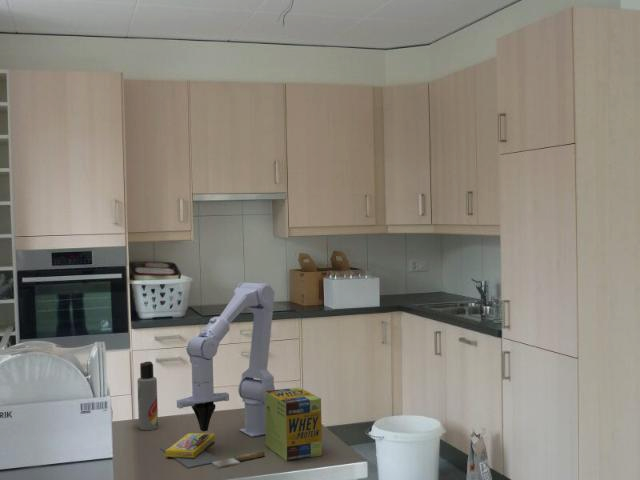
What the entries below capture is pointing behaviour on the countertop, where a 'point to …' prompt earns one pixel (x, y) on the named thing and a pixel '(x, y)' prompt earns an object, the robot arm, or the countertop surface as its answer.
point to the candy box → (190, 445)
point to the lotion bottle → (147, 398)
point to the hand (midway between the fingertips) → (204, 430)
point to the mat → (194, 459)
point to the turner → (237, 459)
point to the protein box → (293, 423)
